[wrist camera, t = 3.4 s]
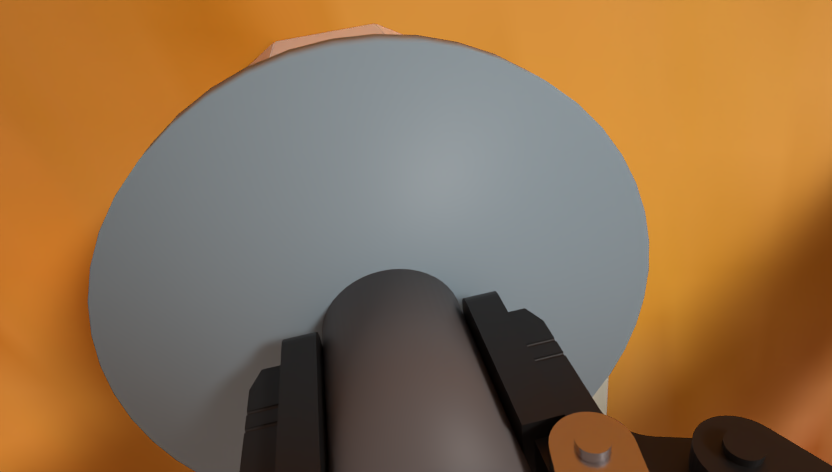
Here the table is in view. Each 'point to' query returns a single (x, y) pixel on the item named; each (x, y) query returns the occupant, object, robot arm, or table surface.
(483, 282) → the lid
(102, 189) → the table surface
